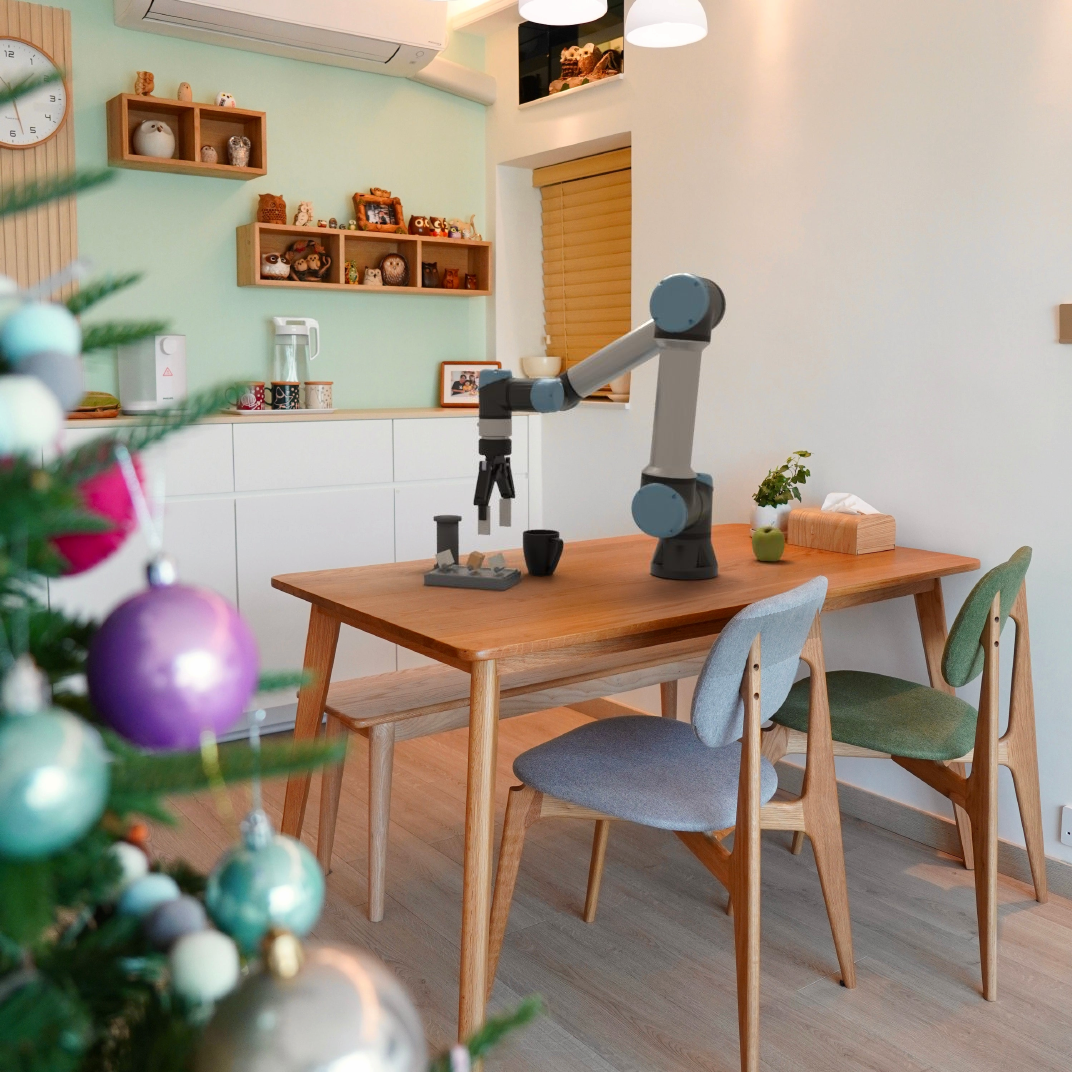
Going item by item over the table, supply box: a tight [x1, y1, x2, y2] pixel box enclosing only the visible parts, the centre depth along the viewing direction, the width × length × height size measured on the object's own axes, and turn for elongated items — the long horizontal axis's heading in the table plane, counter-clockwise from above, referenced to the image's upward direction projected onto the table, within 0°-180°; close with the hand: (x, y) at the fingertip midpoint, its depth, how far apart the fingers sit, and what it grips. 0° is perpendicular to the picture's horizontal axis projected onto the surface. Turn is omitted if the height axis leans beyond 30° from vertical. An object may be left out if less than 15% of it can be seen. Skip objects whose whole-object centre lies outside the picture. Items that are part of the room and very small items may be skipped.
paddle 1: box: [434, 549, 454, 569], centre depth 230 cm, size 2×4×4 cm, turn 161°
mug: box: [522, 529, 565, 577], centre depth 237 cm, size 8×12×10 cm
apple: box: [751, 521, 786, 562], centre depth 257 cm, size 8×8×10 cm
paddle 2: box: [486, 552, 508, 573], centre depth 226 cm, size 2×4×4 cm, turn 161°
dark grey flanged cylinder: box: [433, 514, 463, 570], centre depth 244 cm, size 6×6×12 cm
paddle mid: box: [465, 550, 486, 571], centre depth 228 cm, size 2×4×4 cm, turn 163°
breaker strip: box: [423, 564, 522, 591], centre depth 229 cm, size 18×11×3 cm, turn 72°
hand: (494, 530), depth 245 cm, fingers open, 13 cm apart
